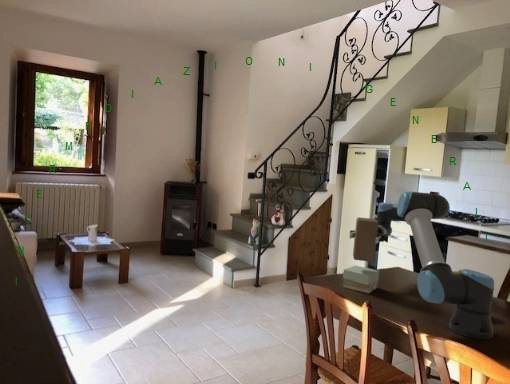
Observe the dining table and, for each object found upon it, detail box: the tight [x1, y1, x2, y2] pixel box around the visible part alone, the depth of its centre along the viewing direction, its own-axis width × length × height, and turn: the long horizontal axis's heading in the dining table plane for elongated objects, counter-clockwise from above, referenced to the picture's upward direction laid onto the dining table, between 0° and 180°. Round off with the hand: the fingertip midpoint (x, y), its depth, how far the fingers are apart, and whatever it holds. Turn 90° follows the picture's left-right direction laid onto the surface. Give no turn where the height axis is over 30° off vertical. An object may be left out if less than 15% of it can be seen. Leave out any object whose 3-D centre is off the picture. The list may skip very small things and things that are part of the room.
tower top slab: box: [342, 265, 380, 285], centre depth 206 cm, size 13×13×4 cm
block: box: [352, 217, 378, 263], centre depth 205 cm, size 10×10×20 cm
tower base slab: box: [342, 278, 379, 294], centre depth 206 cm, size 13×13×4 cm
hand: (363, 238), depth 202 cm, fingers closed on block, 12 cm apart
